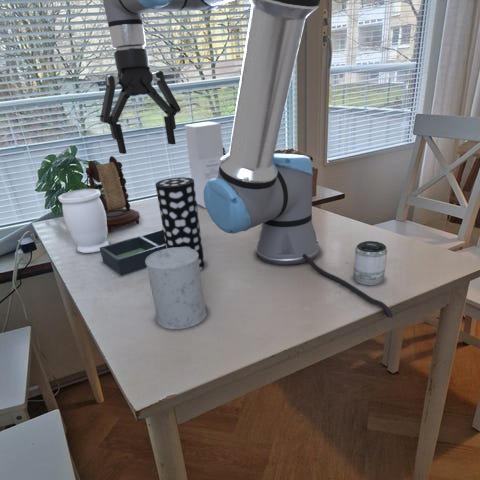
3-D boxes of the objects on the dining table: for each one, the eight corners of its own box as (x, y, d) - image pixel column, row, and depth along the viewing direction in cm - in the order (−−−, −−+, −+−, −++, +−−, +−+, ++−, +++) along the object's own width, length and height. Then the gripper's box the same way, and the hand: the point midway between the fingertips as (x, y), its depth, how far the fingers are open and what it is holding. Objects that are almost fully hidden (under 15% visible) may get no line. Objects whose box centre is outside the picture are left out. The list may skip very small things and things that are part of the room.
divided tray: (199, 249, 112) (197, 234, 110) (121, 275, 102) (117, 260, 100) (177, 238, 120) (175, 225, 118) (103, 262, 110) (99, 247, 108)
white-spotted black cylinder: (188, 276, 98) (174, 188, 88) (162, 269, 103) (147, 185, 93) (211, 263, 104) (201, 179, 94) (186, 257, 108) (174, 176, 98)
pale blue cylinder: (207, 302, 87) (199, 245, 81) (205, 327, 79) (197, 266, 73) (160, 305, 88) (149, 249, 81) (154, 331, 79) (141, 270, 73)
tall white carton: (216, 197, 154) (208, 121, 141) (228, 203, 147) (221, 123, 134) (194, 202, 150) (184, 124, 137) (204, 208, 143) (195, 127, 130)
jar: (72, 258, 114) (56, 201, 106) (74, 244, 122) (59, 191, 115) (113, 251, 116) (100, 195, 108) (112, 238, 124) (100, 186, 117)
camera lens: (380, 288, 87) (384, 251, 83) (349, 283, 90) (352, 248, 86) (386, 275, 92) (390, 240, 88) (357, 271, 94) (359, 237, 90)
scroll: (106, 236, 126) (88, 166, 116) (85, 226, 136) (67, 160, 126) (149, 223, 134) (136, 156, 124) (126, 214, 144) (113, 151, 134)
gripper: (170, 47, 106) (183, 139, 117) (70, 54, 94) (95, 155, 105) (185, 44, 101) (198, 141, 111) (81, 51, 89) (106, 158, 99)
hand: (148, 148), depth 108 cm, fingers open, 13 cm apart
